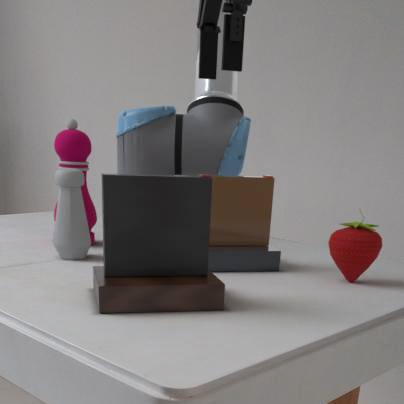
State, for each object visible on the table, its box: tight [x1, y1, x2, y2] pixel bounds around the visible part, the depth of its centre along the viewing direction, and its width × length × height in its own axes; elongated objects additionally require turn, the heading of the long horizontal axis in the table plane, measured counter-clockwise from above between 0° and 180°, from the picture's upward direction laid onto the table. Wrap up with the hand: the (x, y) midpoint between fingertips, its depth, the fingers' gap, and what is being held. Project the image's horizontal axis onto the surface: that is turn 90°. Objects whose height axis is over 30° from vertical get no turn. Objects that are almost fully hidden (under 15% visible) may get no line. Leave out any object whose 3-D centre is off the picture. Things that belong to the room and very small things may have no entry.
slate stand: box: [208, 244, 282, 273], centre depth 87 cm, size 12×10×3 cm
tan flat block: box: [209, 174, 275, 246], centre depth 85 cm, size 11×2×10 cm, turn 104°
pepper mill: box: [53, 118, 98, 246], centre depth 95 cm, size 7×7×20 cm
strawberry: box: [327, 208, 383, 283], centre depth 78 cm, size 6×8×10 cm
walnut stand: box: [92, 265, 226, 314], centre depth 66 cm, size 14×10×3 cm
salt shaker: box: [52, 168, 92, 261], centre depth 85 cm, size 6×6×13 cm
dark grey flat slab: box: [101, 173, 212, 277], centre depth 64 cm, size 12×2×11 cm, turn 103°
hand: (218, 75), depth 83 cm, fingers open, 13 cm apart
